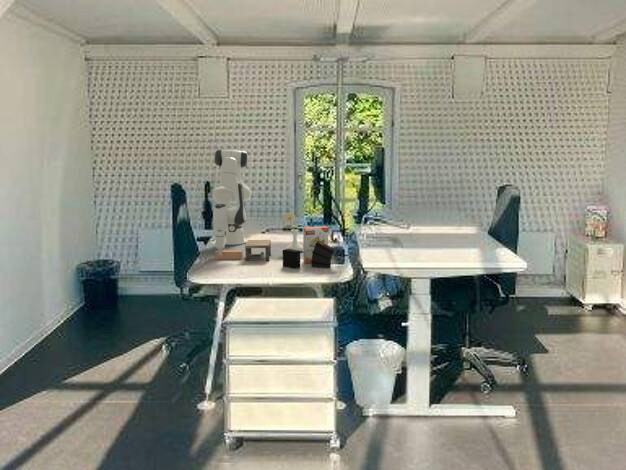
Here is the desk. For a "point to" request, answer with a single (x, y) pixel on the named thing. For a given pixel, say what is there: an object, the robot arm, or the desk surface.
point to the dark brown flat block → (322, 255)
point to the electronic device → (291, 258)
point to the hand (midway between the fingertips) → (221, 253)
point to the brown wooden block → (229, 254)
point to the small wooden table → (258, 244)
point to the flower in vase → (294, 245)
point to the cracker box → (313, 240)
